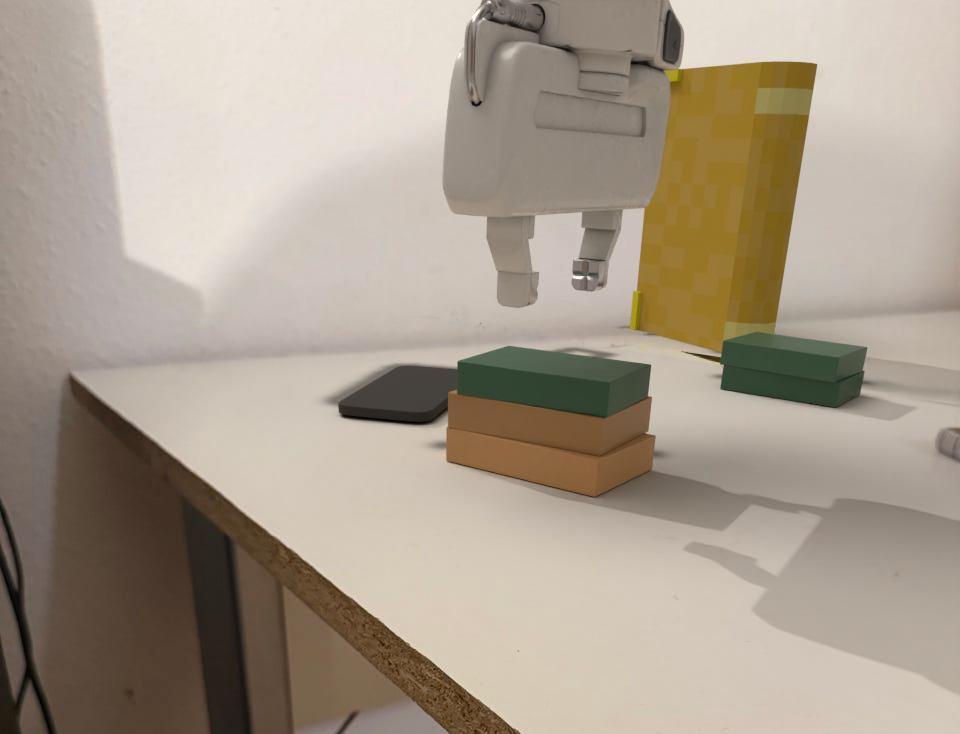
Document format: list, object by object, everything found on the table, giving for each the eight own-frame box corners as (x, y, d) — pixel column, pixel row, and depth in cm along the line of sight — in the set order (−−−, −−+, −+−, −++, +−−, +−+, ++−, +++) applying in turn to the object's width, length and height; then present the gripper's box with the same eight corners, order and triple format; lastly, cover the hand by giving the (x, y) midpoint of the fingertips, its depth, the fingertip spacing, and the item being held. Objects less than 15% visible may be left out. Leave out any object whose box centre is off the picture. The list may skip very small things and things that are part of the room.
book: (628, 337, 103) (653, 71, 92) (678, 334, 106) (708, 75, 95) (732, 367, 90) (776, 59, 79) (785, 362, 93) (836, 65, 82)
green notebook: (648, 397, 59) (651, 364, 58) (606, 418, 54) (609, 382, 53) (507, 376, 63) (508, 345, 62) (456, 394, 58) (456, 360, 57)
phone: (332, 404, 70) (399, 364, 82) (332, 416, 70) (399, 374, 83) (428, 413, 68) (482, 371, 81) (428, 425, 68) (482, 381, 81)
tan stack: (655, 467, 61) (663, 398, 59) (594, 497, 55) (600, 422, 53) (510, 436, 66) (512, 372, 64) (441, 460, 61) (441, 390, 59)
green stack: (860, 394, 81) (870, 346, 79) (834, 408, 76) (844, 357, 74) (745, 376, 87) (752, 331, 85) (713, 389, 82) (720, 341, 80)
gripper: (535, -17, 40) (518, 324, 46) (695, 38, 56) (666, 287, 62) (411, -11, 43) (410, 311, 49) (597, 40, 59) (579, 278, 65)
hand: (555, 297), depth 56 cm, fingers open, 8 cm apart
